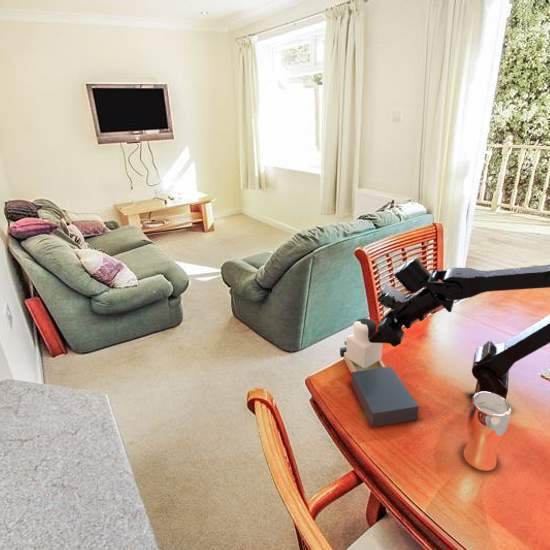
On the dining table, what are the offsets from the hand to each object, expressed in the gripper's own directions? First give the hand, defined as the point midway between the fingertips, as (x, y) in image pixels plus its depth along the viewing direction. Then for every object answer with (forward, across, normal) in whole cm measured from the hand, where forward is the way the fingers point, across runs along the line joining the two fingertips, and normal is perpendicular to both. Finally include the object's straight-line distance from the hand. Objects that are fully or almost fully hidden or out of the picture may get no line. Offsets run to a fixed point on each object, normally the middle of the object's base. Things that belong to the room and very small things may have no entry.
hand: (374, 332), depth 101 cm
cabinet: (+5, +11, +13) cm, 18 cm away
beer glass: (-11, +18, +29) cm, 36 cm away
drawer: (+11, -1, +6) cm, 12 cm away
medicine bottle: (+9, 0, +5) cm, 10 cm away
